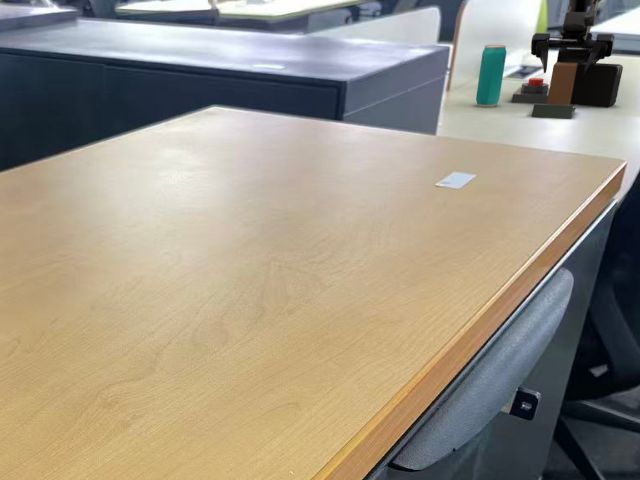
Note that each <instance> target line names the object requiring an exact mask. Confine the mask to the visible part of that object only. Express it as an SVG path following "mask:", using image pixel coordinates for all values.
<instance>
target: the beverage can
mask: <svg viewBox="0 0 640 480" xmlns="http://www.w3.org/2000/svg"><path fill="white" fill-rule="evenodd" d="M506 48H507V45H505V44H486V45H484V49H483V50H482V54H481V61H480V67H479V68H480V69H479V74H478V81H477V88H476V89H477V90H476V96H475V101H476V102H475V103H476V106H477V107H478V108H495V107H496V106H497V105H498V103H499V101H500V98H501V91H502V83H503V78H504V70H505V64H506V57H507V49H506Z"/></svg>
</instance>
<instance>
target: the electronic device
mask: <svg viewBox="0 0 640 480" xmlns="http://www.w3.org/2000/svg"><path fill="white" fill-rule="evenodd" d="M586 63H587V62H586ZM586 63H582V64H579V65H577V70H576V75H575V81H574V86H573V91H572V96H571V102H570V105H574V106H583V107H585V106H586V107H595V108H609V107H612V106H614V105H616V103H617V98H618V94H619V89H620V85H621V78H622V75H623V69H624V67H623V65H622V64H621V63H604V62H603V63H601V62H600V63H599V62H596V63H595V64H594V65H593V66H592V67H591V69H590V70H589V71H588V72H587V73H586V74H584V70H585V66H586Z"/></svg>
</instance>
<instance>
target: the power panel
mask: <svg viewBox="0 0 640 480" xmlns="http://www.w3.org/2000/svg"><path fill="white" fill-rule="evenodd" d="M549 88H550V84H549V83H545V82H543V85H540V86H533V85H528V82H523V83H521V86H520V87H519V88H518V89H517V90H516V91H514V92H513V93H512V97H511V103H515V104H516V103H519V104H535V103H536V104H547V100H548V94H549Z"/></svg>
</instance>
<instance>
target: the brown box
mask: <svg viewBox="0 0 640 480" xmlns="http://www.w3.org/2000/svg"><path fill="white" fill-rule="evenodd" d="M577 65H578V63H564V62H557V61H556V62H555V63H554V64H553V67H552V71H551V72H552V73H551V78H550V84H549V87H548V88H549V94H548V100H547V104H558V105H571V104H570V102H571V96H572V91H573V86H574V81H575V75H576V70H577Z"/></svg>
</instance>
